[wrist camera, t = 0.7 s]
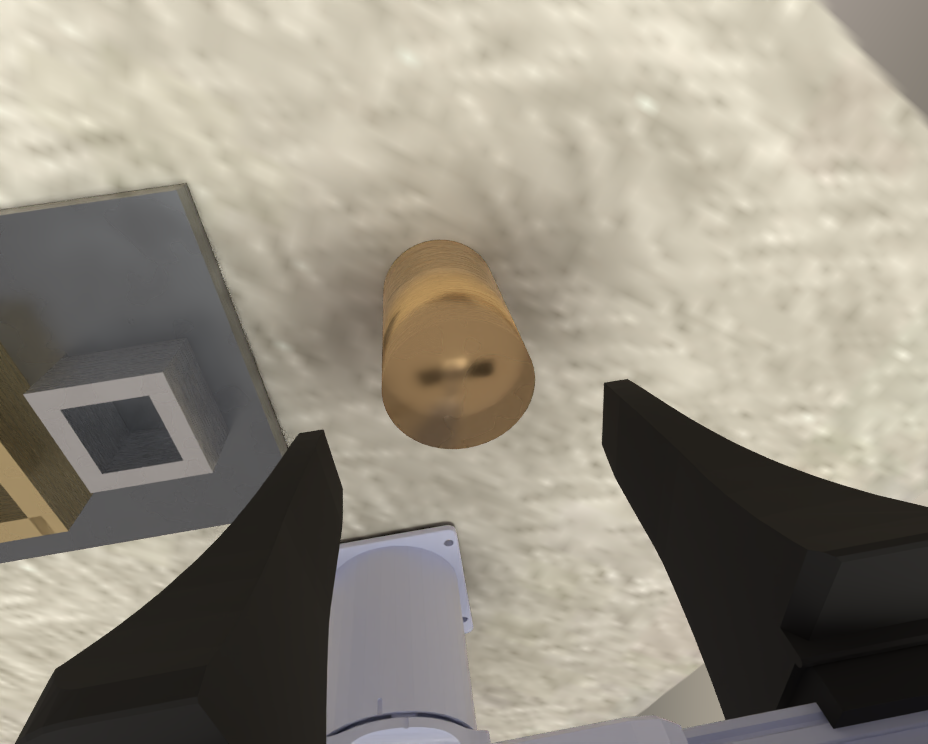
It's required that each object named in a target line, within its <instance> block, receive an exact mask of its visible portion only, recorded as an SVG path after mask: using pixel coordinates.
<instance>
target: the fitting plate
mask: <svg viewBox="0 0 928 744" xmlns="http://www.w3.org/2000/svg"><path fill="white" fill-rule="evenodd" d="M287 449H288V447H287V445H286V442H285V440H284V437H283V434H282V432H281V429H280V427H279V424H278V421H277V419H276V416H275V413H274V411H273V408H272V406H271V403H270V400H269V398H268V395H267V393H266V390H265V387H264V385H263V382H262V380H261V377H260V374H259V372H258V369H257V367H256V364H255V361H254V359H253V356H252V353H251V351H250V348H249V346H248V343H247V340H246V338H245V335H244V333H243V330H242V327H241V325H240V322H239V320H238V317H237V314H236V312H235V309H234V307H233V304H232V301H231V299H230V296H229V293H228V291H227V288H226V286H225V283H224V280H223V278H222V275H221V273H220V270H219V267H218V265H217V262H216V260H215V257H214V254H213V252H212V249H211V246H210V244H209V241H208V239H207V236H206V233H205V231H204V228H203V226H202V223H201V220H200V218H199V215H198V213H197V210H196V207H195V205H194V202H193V200H192V197H191V194H190V192H189V189H188V186H187V184H179V185H172V186H165V187H158V188H151V189H144V190H137V191H130V192H123V193H116V194H109V195H102V196H95V197H88V198H81V199H74V200H67V201H60V202H53V203H46V204H39V205H32V206H25V207H18V208H11V209H4V210H0V563H5V562H11V561H16V560H22V559H28V558H34V557H40V556H45V555H51V554H57V553H63V552H69V551H74V550H80V549H86V548H92V547H98V546H103V545H109V544H115V543H121V542H127V541H132V540H138V539H144V538H150V537H156V536H161V535H167V534H173V533H179V532H185V531H190V530H196V529H202V528H208V527H214V526H219V525H225V524H231V523H232V522H233V521H234V520H235V519H236V517H237V516H238V515H239V514H240V513H241V511H242V510H243V509H244V508H245V506H246V505H247V504H248V503H249V502H250V500H251V499H252V498H253V497H254V495H255V494H256V493H257V491H258V490H259V489H260V487H261V486H262V484H263V483H264V482H265V480H266V479H267V478H268V476H269V475H270V474H271V472H272V471H273V469H274V468H275V467H276V465H277V464H278V462H279V461H280V459H281V458H282V457H283V455H284V454H285V452H286V451H287Z"/></svg>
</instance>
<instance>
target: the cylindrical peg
mask: <svg viewBox="0 0 928 744" xmlns="http://www.w3.org/2000/svg"><path fill="white" fill-rule="evenodd" d="M534 386H535V373H534V367H533V364H532V360H531V358H530V356H529V354H528V352H527V349H526V347H525V345H524V343H523V341H522V339H521V336H520V334H519V332H518V330H517V328H516V326H515V323H514V321H513V319H512V317H511V315H510V313H509V311H508V308H507V306H506V304H505V302H504V300H503V298H502V295H501V293H500V291H499V289H498V287H497V285H496V282H495V280H494V278H493V276H492V274H491V272H490V269H489V267H488V266H487V264H486V263H485V261H484V260H483V259H482V258H481V256H480V255H479V254H477V253H476V252H475V251H474V250H472V249H471V248H469V247H467V246H465V245H463V244H461V243H458V242H454V241H449V240H431V241H427V242H423V243H420V244H417V245H415V246H413V247H411V248H409V249H408V250H407V251H405V252H404V253H403V254H401V255H400V256H399V257H398V258H397V259H396V261H395V262H394V263H393V264H392V266H391V268H390V269H389V271H388V274H387V276H386V279H385V283H384V289H383V349H382V397H383V403H384V406H385V409H386V411H387V413H388V415H389V417H390V418H391V420H392V421H393V423H394V424H395V425H396V426H397V427H398V428H399V429H400V430H401V431H402V432H403V433H405V434H406V435H407V436H409V437H410V438H412V439H414V440H416V441H418V442H420V443H422V444H425V445H428V446H432V447H437V448H444V449H462V448H469V447H474V446H478V445H481V444H484V443H487V442H489V441H491V440H493V439H495V438H497V437H499V436H500V435H502V434H504V433H505V432H506V431H508V430H509V429H510V428H511V427H512V426H513V425H515V424H516V423H517V421H518V420H519V419H520V418H521V417H522V415H523V414H524V412H525V411H526V409H527V408H528V406H529V404H530V402H531V399H532V396H533V392H534Z"/></svg>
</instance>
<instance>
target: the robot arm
mask: <svg viewBox="0 0 928 744" xmlns="http://www.w3.org/2000/svg"><path fill="white" fill-rule="evenodd" d="M602 446H603V448H604V451H605V454H606V456H607V459H608V461H609V464H610V466H611V469H612V471H613V474H614V476H615V478H616V480H617V482H618V484H619V485H620V487H621V489H622V491H623V493H624V494H625V496H626V498H627V500H628V502H629V503H630V505H631V507H632V509H633V510H634V512H635V514H636V516H637V517H638V519H639V521H640V523H641V524H642V526H643V528H644V530H645V531H646V533H647V535H648V537H649V538H650V540H651V542H652V544H653V545H654V547H655V549H656V551H657V553H658V555H659V557H660V559H661V561H662V562H663V564H664V567H665V569H666V571H667V573H668V576H669V578H670V580H671V583H672V585H673V587H674V589H675V592H676V594H677V596H678V599H679V601H680V603H681V606H682V608H683V611H684V613H685V615H686V618H687V620H688V623H689V625H690V627H691V630H692V632H693V635H694V637H695V640H696V642H697V645H698V647H699V650H700V653H701V655H702V658H703V660H704V663H705V665H706V668H707V670H708V673H709V676H710V678H711V681H712V684H713V686H714V689H715V692H716V695H717V697H718V700H719V703H720V706H721V708H722V711H723V714H724V717H725V720H724V721H719V722H714V723H709V724H704V725H699V726H694V727H688V728H683V729H682V728H681V725H679V724H677V723H675V722H673V721H670V720H667V719H664V718H661V717H658V716H655V715H650V716H634V717H624V718H619V719H614V720H609V721H604V722H598V723H593V724H588V725H583V726H578V727H573V728H568V729H563V730H557V731H552V732H547V733H542V734H537V735H532V736H527V737H522V738H516V739H511V740H506V741H501V742H496V743H491V742H490V736H489V731H487V730H477V725H476V717H475V710H474V702H473V694H472V687H471V679H470V672H469V664H468V656H467V649H466V641H465V634H466V633H469V632H471V631H472V629H473V622H472V617H471V611H470V605H469V600H468V594H467V588H466V583H465V577H464V572H463V566H462V560H461V555H460V549H459V543H458V538H457V532H456V529H455V527H453V526H450V525H444V526H439V527H433V528H427V529H422V530H416V531H410V532H405V533H399V534H393V535H387V536H382V537H376V538H370V539H365V540H359V541H353V542H348V543H342V544H340V539H341V532H342V520H343V488H342V485H341V482H340V479H339V476H338V473H337V470H336V467H335V464H334V461H333V458H332V454H331V451H330V448H329V445H328V442H327V439H326V436H325V433H324V430H317V431H311V432H305V433H299V434H298V436H297V437H296V438H295V440H294V441H293V442H292V444H291V445H290V447H289V448H288V449H287V451H286V452H285V454H284V455H283V457H282V458H281V459H280V461H279V462H278V464H277V465H276V467H275V468H274V469H273V471H272V472H271V474H270V475H269V476H268V478H267V479H266V480H265V482H264V483H263V484H262V486H261V487H260V489H259V490H258V491H257V493H256V494H255V495H254V497H253V498H252V499H251V500H250V502H249V503H248V504H247V505H246V506H245V508H244V509H243V510H242V511H241V513H240V514H239V515H238V516H237V517H236V519H235V520H234V521H233V522H232V523H231V525H230V526H229V527H228V528H227V529H226V530H225V531H224V532H223V533H222V535H221V536H220V537H219V538H218V539H217V540H216V541H215V542H214V543H213V544H212V545H211V546H210V547H209V548H208V549H207V550H206V551H205V552H204V553H203V554H202V555H201V556H200V557H199V558H198V559H197V560H196V561H195V562H194V563H193V564H192V565H190V566H189V567H188V568H187V569H186V570H185V571H184V572H183V573H182V574H180V575H179V576H178V577H177V578H176V579H175V580H174V581H173V582H172V583H171V584H169V585H168V586H167V587H166V588H165V589H164V590H163V591H161V592H160V593H159V594H158V595H157V596H155V597H154V598H153V599H152V600H151V601H149V602H148V603H147V604H146V605H144V606H143V607H142V608H141V609H139V610H138V611H137V612H136V613H134V614H133V615H132V616H130V617H129V618H128V619H126V620H125V621H124V622H123V623H121V624H120V625H119V626H117V627H116V628H114V629H113V630H112V631H110V632H109V633H108V634H106V635H105V636H103V637H102V638H100V639H99V640H98V641H96V642H95V643H93V644H92V645H90V646H89V647H87V648H86V649H85V650H83V651H82V652H80V653H79V654H77V655H76V656H74V657H73V658H71V659H70V660H69V661H67V662H66V663H64V664H63V665H61V666H59V667H58V668H56V669H55V671H54V673H53V674H52V676H51V678H50V679H49V681H48V683H47V685H46V687H45V689H44V690H43V692H42V694H41V696H40V698H39V700H38V701H37V703H36V705H35V707H34V709H33V711H32V713H31V715H30V716H29V718H28V720H27V722H26V724H25V726H24V728H23V730H22V731H21V733H20V735H19V737H18V739H17V741H16V743H15V744H928V507H925V506H921V505H917V504H913V503H908V502H904V501H900V500H896V499H892V498H887V497H883V496H879V495H875V494H871V493H868V492H864V491H861V490H857V489H854V488H851V487H847V486H844V485H840V484H837V483H834V482H831V481H828V480H825V479H822V478H819V477H816V476H813V475H810V474H808V473H805V472H802V471H799V470H797V469H794V468H791V467H789V466H786V465H783V464H781V463H778V462H776V461H774V460H771V459H769V458H766V457H764V456H762V455H760V454H758V453H755V452H753V451H751V450H749V449H746V448H744V447H742V446H740V445H738V444H736V443H734V442H732V441H730V440H728V439H726V438H724V437H722V436H720V435H719V434H717V433H715V432H713V431H711V430H709V429H707V428H706V427H704V426H702V425H700V424H699V423H697V422H695V421H694V420H692V419H690V418H688V417H687V416H685V415H684V414H682V413H680V412H679V411H677V410H675V409H674V408H672V407H671V406H669V405H667V404H666V403H664V402H663V401H661V400H660V399H658V398H657V397H655V396H654V395H652V394H650V393H649V392H647V391H646V390H644V389H643V388H641V387H640V386H638V385H636V384H635V383H633V382H632V381H630V380H628V379H625V380H619V381H613V382H607V383H604V402H603V429H602ZM446 540H449V541H446Z"/></svg>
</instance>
